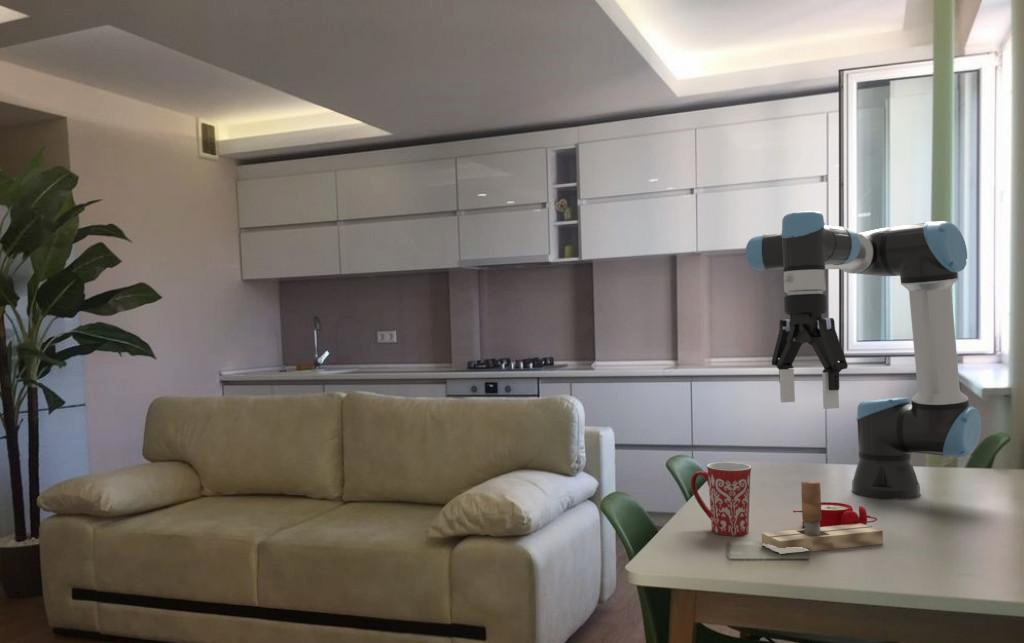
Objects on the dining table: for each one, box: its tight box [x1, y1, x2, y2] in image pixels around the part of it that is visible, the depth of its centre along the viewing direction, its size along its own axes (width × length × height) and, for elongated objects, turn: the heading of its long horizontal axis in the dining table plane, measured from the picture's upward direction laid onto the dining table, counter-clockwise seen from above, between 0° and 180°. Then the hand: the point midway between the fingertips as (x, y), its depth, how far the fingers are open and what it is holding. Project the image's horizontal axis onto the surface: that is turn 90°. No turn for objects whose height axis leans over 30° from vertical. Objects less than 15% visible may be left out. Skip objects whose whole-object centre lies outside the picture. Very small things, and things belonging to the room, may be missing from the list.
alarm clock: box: [792, 501, 878, 527], centre depth 158 cm, size 10×6×15 cm
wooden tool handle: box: [800, 480, 822, 537], centre depth 147 cm, size 3×3×12 cm
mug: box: [690, 461, 752, 537], centre depth 160 cm, size 13×9×14 cm
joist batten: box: [761, 522, 884, 553], centre depth 147 cm, size 22×6×3 cm, turn 104°
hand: (808, 405), depth 147 cm, fingers open, 13 cm apart
